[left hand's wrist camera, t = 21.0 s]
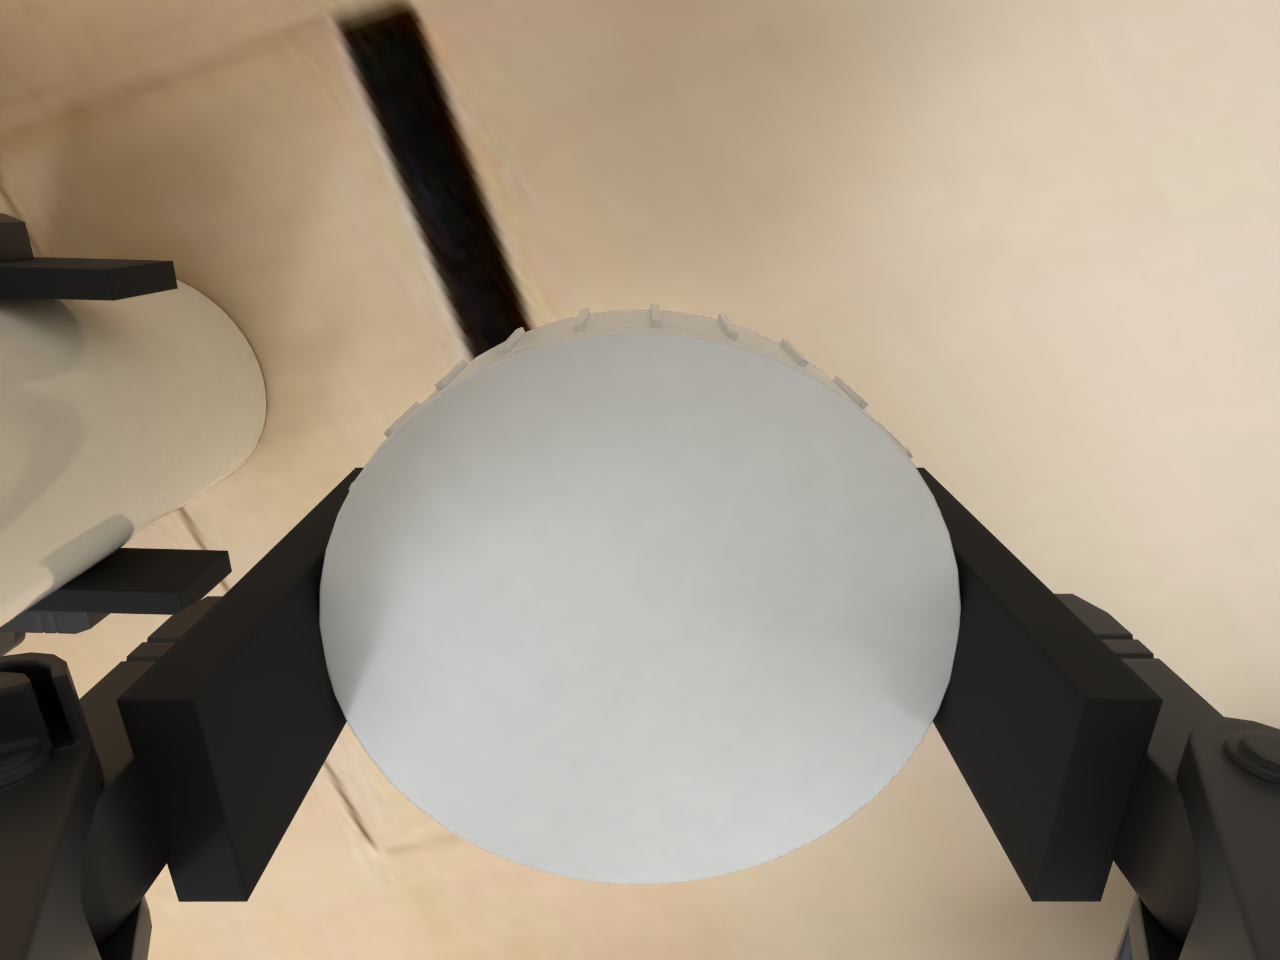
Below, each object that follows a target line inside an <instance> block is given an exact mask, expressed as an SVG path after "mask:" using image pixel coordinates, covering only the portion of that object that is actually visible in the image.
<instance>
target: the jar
mask: <svg viewBox="0 0 1280 960" xmlns="http://www.w3.org/2000/svg"><path fill="white" fill-rule="evenodd" d="M176 281H177V286H178V289H173V290H168V291H163V292H157V293H152V294H147V295H142V296H136V297H131V298H126V299H120V300H115V301H105V300H69V299H32V298H0V627H1V626H3V625H4V624H6V623H7V622H9V621H10V620H12V619H13V618H15V617H16V616H18V615H19V614H21V613H22V612H24V611H26V610H27V609H29V608H30V607H32V606H33V605H35V604H36V603H38V602H39V601H41V600H42V599H44V598H45V597H47V596H48V595H50V594H51V593H53V592H54V591H56V590H57V589H59V588H60V587H62V586H63V585H65V584H66V583H68V582H69V581H71V580H72V579H74V578H75V577H77V576H78V575H80V574H81V573H83V572H84V571H86V570H87V569H89V568H90V567H92V566H93V565H95V564H96V563H98V562H99V561H101V560H102V559H104V558H105V557H107V556H108V555H110V554H111V553H113V552H114V551H116V550H117V549H119V548H120V547H122V546H123V545H125V544H126V543H128V542H129V541H131V540H133V539H134V538H136V537H137V536H139V535H140V534H142V533H143V532H145V531H146V530H148V529H149V528H151V527H152V526H154V525H155V524H157V523H158V522H160V521H161V520H163V519H164V518H166V517H167V516H169V515H170V514H172V513H173V512H175V511H176V510H178V509H179V508H181V507H182V506H184V505H185V504H187V503H188V502H190V501H191V500H193V499H194V498H196V497H197V496H199V495H200V494H202V493H203V492H205V491H206V490H208V489H209V488H211V487H212V486H214V485H215V484H217V483H218V482H220V481H221V480H223V479H224V478H226V477H227V476H229V475H230V474H232V473H233V472H235V471H236V470H237V469H238V468H239V467H240V466H242V465H243V464H244V462H245V461H246V460H247V459H248V458H249V457H250V455H251V454H252V452H253V451H254V449H255V447H256V446H257V444H258V441H259V439H260V437H261V434H262V431H263V427H264V423H265V417H266V390H265V385H264V379H263V375H262V372H261V369H260V366H259V363H258V361H257V358H256V356H255V354H254V352H253V350H252V348H251V346H250V344H249V343H248V341H247V339H246V338H245V336H244V335H243V333H242V332H241V331H240V329H239V328H238V327H237V325H236V324H235V323H234V322H233V320H232V319H231V318H230V317H229V316H228V315H227V314H226V313H225V312H224V311H223V310H222V309H221V308H220V307H219V306H217V305H216V304H215V303H214V302H213V301H212V300H210V299H209V298H208V297H206V296H205V295H203V294H202V293H200V292H199V291H197V290H196V289H194V288H192V287H190V286H188V285H187V284H185V283H183V282H181V281H179V280H176Z"/></svg>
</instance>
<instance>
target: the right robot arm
mask: <svg viewBox="0 0 1280 960" xmlns="http://www.w3.org/2000/svg"><path fill="white" fill-rule="evenodd" d="M173 289H178V286H177V281H176V276H175V271H174V265H173V261H153V260H117V259H81V258H44V257H34V256H33V252H32V249H31V245H30V241H29V237H28V233H27V229H26V225H25V222H23V221H21V220H18V219H16V218H13V217H11V216H9V215H6V214H0V298H32V299H69V300H105V301H115V300H120V299H126V298H131V297H136V296H142V295H147V294H152V293H157V292H163V291H168V290H173ZM231 572H232V570H231V565H230V559H229V554H228V551H216V550H178V549H141V548H119V549H117V550H116V551H114V552H113V553H111V554H110V555H108V556H107V557H105V558H104V559H102V560H101V561H99V562H98V563H96V564H95V565H93V566H92V567H90V568H89V569H87V570H86V571H84V572H83V573H81V574H80V575H78V576H77V577H75V578H74V579H72V580H71V581H69V582H68V583H66V584H65V585H63V586H62V587H60V588H59V589H57V590H56V591H54V592H53V593H51V594H50V595H48V596H47V597H45V598H44V599H42V600H41V601H39V602H38V603H36V604H35V605H33V606H32V607H30V608H29V609H27V610H26V611H24V612H22V613H21V614H19V615H18V616H16V617H15V618H13V619H12V620H10V621H9V622H7V623H6V624H4V625H3V626H1V627H0V657H1V656H3V655H5V654H6V653H8V652H9V651H10V650H12V649H13V648H15V647H16V646H18V645H19V644H20V643H21V642H22V641H23V640H24V639H25V634H26V633H25V632H30V633H42V632H45V633H57V632H58V633H68V634H76V633H79V632H82V631H85V630H88V629H91V628H92V627H93V626H95V625H96V624H97V623H98V622H100V621H101V620H102V619H104V618H105V617H106V616H107V615H109V614H110V613H128V614H166V615H174V614H176V613H178V612H180V611H182V610H183V609H185V608H187V607H189V606H191V605H193V604H195V603H196V602H198V601H200V600H201V599H202V598H203V597H204V596H205V595H206V594H207V593H209V592H210V591H211V590H212V589H213V588H214V587H215V586H216V585H217V584H218V583H220V582H221V581H222V580H223V579H224V578H225V577H226V576H227V575H228V574H230V573H231Z"/></svg>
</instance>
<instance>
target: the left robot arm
mask: <svg viewBox="0 0 1280 960" xmlns="http://www.w3.org/2000/svg"><path fill="white" fill-rule="evenodd" d="M363 469H364V468H355V469H354V470H353V471H352V472H351V473H350V474H349V475H348V476H347V477H346V478H345V479H344V480H343V481H342V482H341V483H340V484H339V485H337V486H336V487H335V488H334V489H333V490H332V491H331V492H330V493H329V494H328V495H327V496H326V497H325V498H324V499H323V500H322V501H321V502H320V503H319V504H318V505H317V506H316V507H315V508H314V509H313V510H312V511H311V512H310V513H309V514H308V515H307V516H306V517H304V518H303V519H302V520H301V521H300V522H299V523H298V524H297V525H296V526H295V527H294V528H293V529H292V530H291V531H290V532H289V533H288V534H287V535H286V536H285V537H284V538H283V539H282V540H281V541H280V542H279V543H278V544H277V545H276V546H275V547H274V548H272V549H271V550H270V551H269V552H268V553H267V554H266V555H265V556H264V557H263V558H262V559H261V560H260V561H259V562H258V563H257V564H256V565H255V566H254V567H253V568H252V569H251V570H250V571H249V572H248V573H247V574H246V575H245V576H244V577H243V578H242V579H240V580H239V581H238V582H237V583H236V584H235V585H234V586H233V587H232V588H231V589H230V590H229V591H228V592H227V593H226V594H225V595H224V596H208V597H206V598H204V599H202V600H200V601H198V602H196V603H195V604H193V605H191V606H189V607H187V608H185V609H183V610H182V611H180V612H178V613H176V614H174V615H172V616H171V617H170V618H169V619H168V620H167V621H166V622H165V623H163V624H162V625H161V626H160V627H159V628H158V629H157V630H156V631H155V632H153V633H152V634H151V635H150V636H149V637H148V641H147V642H142V643H141V644H140V645H139V646H138V647H137V648H136V649H135V650H134V651H132V652H131V653H130V654H129V655H128V656H127V660H126V661H123V662H120V663H119V664H118V665H117V666H116V667H115V668H114V669H113V670H111V671H110V672H109V673H108V674H107V675H106V676H105V677H104V678H103V679H102V680H100V681H99V682H98V683H97V684H96V685H95V686H94V687H93V688H92V689H90V690H89V691H88V692H87V693H86V694H85V695H84V696H83V697H82V698H81V699H79V698H78V695H77V692H76V689H75V686H74V683H73V680H72V677H71V674H70V671H69V668H68V665H67V662H66V661H64V660H62V659H61V658H59V657H57V656H56V655H54V654H43V653H24V654H16V655H8V656H1V657H0V960H147V958H148V951H149V944H150V937H151V929H152V924H151V918H150V911H149V908H148V905H147V902H146V899H145V896H144V895H145V893H146V892H147V891H148V889H149V888H150V886H151V885H152V883H153V882H154V881H155V879H156V878H157V876H158V875H159V874H160V872H161V871H162V869H163V868H164V866H165V865H166V864H167V865H168V868H169V871H170V874H171V877H172V881H173V884H174V887H175V890H176V893H177V897H178V900H179V902H218V901H248V899H249V897H250V895H251V893H252V892H253V890H254V888H255V886H256V884H257V883H258V881H259V879H260V877H261V875H262V874H263V872H264V870H265V868H266V866H267V864H268V863H269V861H270V859H271V857H272V855H273V854H274V852H275V850H276V848H277V846H278V845H279V843H280V841H281V839H282V837H283V836H284V834H285V832H286V830H287V828H288V827H289V825H290V823H291V821H292V819H293V818H294V816H295V814H296V812H297V810H298V809H299V807H300V805H301V803H302V801H303V799H304V798H305V796H306V794H307V792H308V790H309V789H310V787H311V785H312V783H313V781H314V780H315V778H316V776H317V774H318V772H319V771H320V769H321V767H322V765H323V763H324V762H325V760H326V758H327V756H328V754H329V753H330V751H331V749H332V747H333V745H334V744H335V742H336V740H337V738H338V736H339V734H340V733H341V731H342V729H343V727H344V725H345V724H346V722H347V720H346V718H345V716H344V714H343V711H342V709H341V707H340V705H339V703H338V701H337V698H336V696H335V694H334V691H333V687H332V684H331V681H330V677H329V674H328V669H327V664H326V659H325V654H324V648H323V642H322V636H321V631H320V625H319V607H320V582H321V576H322V570H323V564H324V558H325V552H326V548H327V545H328V542H329V539H330V536H331V533H332V530H333V527H334V524H335V521H336V518H337V515H338V513H339V511H340V509H341V507H342V505H343V503H344V501H345V499H346V497H347V495H348V494H349V492H350V491H349V487H350V485H351V484H352V483H353V482H354V481H355V480H356V478H357V477H358V475H359V474H360V473H361V471H362V470H363ZM917 470H918V472H919V473H920V475H921V476H922V478H923V480H924V481H925V483H926V485H927V486H928V488H929V489H930V491H931V493H932V494H933V496H934V498H935V501H936V503H937V505H938V508H939V509H940V512H941V515H942V517H943V520H944V522H945V524H946V527H947V529H948V531H949V535H950V539H951V543H952V547H953V551H954V555H955V559H956V563H957V568H958V576H959V588H960V600H961V614H960V627H959V633H958V639H957V645H956V650H955V656H954V661H953V666H952V671H951V677H950V681H949V684H948V686H947V689H946V692H945V694H944V697H943V700H942V702H941V705H940V707H939V710H938V712H937V714H936V716H935V718H934V719H933V723H934V725H935V726H936V728H937V730H938V732H939V734H940V735H941V737H942V739H943V741H944V743H945V744H946V746H947V748H948V750H949V752H950V753H951V755H952V757H953V759H954V761H955V762H956V764H957V766H958V768H959V770H960V771H961V773H962V775H963V777H964V779H965V780H966V782H967V784H968V786H969V788H970V790H971V791H972V793H973V795H974V797H975V799H976V800H977V802H978V804H979V806H980V808H981V809H982V811H983V813H984V815H985V817H986V818H987V820H988V822H989V824H990V826H991V827H992V829H993V831H994V833H995V835H996V836H997V838H998V840H999V842H1000V844H1001V846H1002V847H1003V849H1004V851H1005V853H1006V855H1007V856H1008V858H1009V860H1010V862H1011V864H1012V865H1013V867H1014V869H1015V871H1016V873H1017V874H1018V876H1019V878H1020V880H1021V882H1022V883H1023V885H1024V887H1025V889H1026V891H1027V892H1028V894H1029V896H1030V898H1031V900H1032V901H1101V898H1102V895H1103V892H1104V888H1105V885H1106V882H1107V879H1108V875H1109V872H1110V869H1111V866H1112V863H1113V860H1114V862H1115V863H1116V865H1117V866H1118V867H1119V869H1120V870H1121V872H1122V873H1123V874H1124V876H1125V877H1126V879H1127V880H1128V881H1129V883H1130V884H1131V886H1132V887H1133V888H1134V890H1135V891H1136V896H1135V899H1134V902H1133V905H1132V908H1131V911H1130V914H1129V917H1128V920H1127V923H1126V926H1125V929H1124V932H1123V935H1122V938H1121V941H1120V944H1119V947H1118V950H1117V953H1116V956H1115V959H1114V960H1280V729H1276V728H1273V727H1270V726H1267V725H1264V724H1261V723H1258V722H1254V721H1248V720H1241V719H1234V718H1228V717H1223V716H1222V715H1221V714H1220V713H1219V712H1218V711H1217V710H1215V709H1214V708H1213V707H1212V706H1211V705H1210V704H1209V703H1208V702H1207V701H1205V700H1204V699H1203V698H1202V697H1201V696H1200V695H1199V694H1198V693H1197V692H1195V691H1194V690H1193V689H1192V688H1191V687H1190V686H1189V685H1188V684H1187V683H1185V682H1184V681H1183V680H1182V679H1181V678H1180V677H1179V676H1178V675H1177V674H1175V673H1174V672H1173V671H1172V670H1171V669H1170V668H1169V667H1168V666H1166V665H1165V664H1164V663H1163V662H1162V661H1161V660H1160V659H1154V657H1153V653H1152V652H1151V651H1150V650H1149V649H1148V648H1146V647H1145V646H1144V645H1143V644H1142V643H1141V642H1140V641H1139V640H1133V635H1132V634H1131V633H1130V632H1129V631H1127V630H1126V629H1125V628H1124V627H1123V626H1122V625H1121V624H1120V623H1119V622H1117V621H1116V620H1115V619H1114V618H1113V617H1112V616H1111V615H1110V614H1109V613H1107V612H1105V611H1103V610H1102V609H1100V608H1098V607H1096V606H1094V605H1092V604H1090V603H1089V602H1087V601H1085V600H1083V599H1081V598H1079V597H1077V596H1075V595H1074V594H1053V593H1052V592H1051V591H1050V590H1049V589H1048V588H1047V587H1046V586H1045V585H1044V584H1043V583H1042V582H1041V581H1040V580H1039V579H1038V578H1037V577H1036V576H1035V575H1034V574H1033V573H1032V572H1031V571H1030V570H1029V569H1028V568H1027V567H1026V566H1025V565H1024V564H1022V563H1021V562H1020V561H1019V560H1018V559H1017V558H1016V557H1015V556H1014V555H1013V554H1012V553H1011V552H1010V551H1009V550H1008V549H1007V548H1006V547H1005V546H1004V545H1003V544H1002V543H1001V542H1000V541H999V540H998V539H997V538H996V537H995V536H994V535H993V534H992V533H990V532H989V531H988V530H987V529H986V528H985V527H984V526H983V525H982V524H981V523H980V522H979V521H978V520H977V519H976V518H975V517H974V516H973V515H972V514H971V513H970V512H969V511H968V510H967V509H966V508H965V507H964V506H963V505H962V504H961V503H960V502H959V501H957V500H956V499H955V498H954V497H953V496H952V495H951V494H950V493H949V492H948V491H947V490H946V489H945V488H944V487H943V486H942V485H941V484H940V483H939V482H938V481H937V480H936V479H935V478H934V477H933V476H932V475H931V474H930V473H929V472H928V471H927V470H925V469H924V468H917Z"/></svg>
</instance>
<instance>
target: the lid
mask: <svg viewBox="0 0 1280 960" xmlns="http://www.w3.org/2000/svg"><path fill="white" fill-rule="evenodd" d="M435 386H436V387H437V390H436V391H435V392H434V393H433V394H432V395H430V396H429V397H428V398H427V399H426V400H425V401H424V402H423V403H422V404H421V405H420V404H419V403H418V402H416V403H415V404H414V405H413V406H412V407H410V408H409V409H408V410H407V411H406V412H405V413H404V414H403V415H402V416H401V417H400V418H399V419H398V420H397V421H396V422H394V423H393V424H392V425H391V426H390V427H389V428H388V429H387V430H386V432H385V433H384V434H385V435H386V436H387V437H388V438H387V439H386V440H385V441H384V442H383V443H382V444H381V445H380V447H379V448H378V449H377V451H376V452H375V454H374V455H373V456H372V458H371V459H370V460H369V462H368V463H367V464H366V466H365V467H364V469H363V470H362V471H361V473H360V474H359V475H358V477H357V478H356V480H355V481H354V482H353V483H352V484H351V485H350V487H349V491H350V492H349V494H348V495H347V497H346V499H345V501H344V503H343V505H342V507H341V509H340V511H339V513H338V515H337V518H336V521H335V524H334V527H333V530H332V533H331V536H330V539H329V542H328V545H327V548H326V552H325V558H324V564H323V570H322V576H321V582H320V607H319V625H320V631H321V636H322V642H323V648H324V654H325V659H326V664H327V669H328V674H329V677H330V681H331V684H332V687H333V691H334V694H335V696H336V698H337V701H338V703H339V705H340V707H341V709H342V711H343V714H344V716H345V718H346V720H347V722H348V724H349V727H350V728H351V730H352V731H353V733H354V734H355V736H356V738H357V739H358V741H359V742H360V744H361V745H362V747H363V748H364V750H365V752H366V753H367V755H368V756H369V757H370V759H371V760H372V761H373V762H374V763H375V765H376V766H377V767H378V768H379V769H380V771H381V772H382V773H383V774H384V775H385V777H386V778H387V779H388V780H389V781H390V783H391V784H393V785H394V786H395V787H396V788H397V789H398V790H399V791H400V792H401V793H402V794H403V795H404V796H405V797H406V798H407V799H409V800H410V801H411V802H412V803H413V804H414V805H415V806H416V807H417V808H419V809H420V810H421V811H423V812H424V813H425V814H427V815H428V816H429V817H431V818H432V819H434V820H435V821H436V822H438V823H439V824H440V825H442V826H443V827H444V828H446V829H448V830H449V831H451V832H453V833H455V834H456V835H458V836H460V837H461V838H463V839H465V840H467V841H468V842H470V843H472V844H473V845H475V846H477V847H480V848H482V849H484V850H486V851H489V852H491V853H493V854H495V855H497V856H500V857H502V858H504V859H506V860H509V861H512V862H515V863H518V864H521V865H524V866H527V867H530V868H533V869H536V870H539V871H542V872H547V873H551V874H556V875H560V876H565V877H569V878H574V879H580V880H588V881H596V882H604V883H613V884H661V883H675V882H686V881H692V880H698V879H704V878H710V877H716V876H721V875H725V874H728V873H732V872H736V871H739V870H743V869H747V868H750V867H754V866H757V865H759V864H762V863H764V862H767V861H770V860H772V859H775V858H777V857H780V856H783V855H785V854H788V853H790V852H792V851H794V850H796V849H798V848H800V847H801V846H803V845H805V844H807V843H809V842H811V841H813V840H815V839H817V838H819V837H821V836H822V835H824V834H825V833H827V832H828V831H830V830H831V829H833V828H834V827H836V826H838V825H839V824H841V823H842V822H844V821H845V820H847V819H848V818H850V817H851V816H852V815H853V814H854V813H856V812H857V811H858V810H859V809H860V808H862V807H863V806H864V805H865V804H867V803H868V802H869V801H870V800H871V799H873V798H874V797H875V796H876V795H877V794H878V793H879V792H880V791H881V790H882V789H883V788H884V787H885V786H886V785H887V784H888V783H889V781H890V780H891V779H892V778H893V777H894V776H895V775H896V774H897V773H898V772H899V771H900V770H901V768H902V767H903V766H904V764H905V763H906V762H907V760H908V759H909V758H910V756H911V755H912V754H913V752H914V751H915V749H916V748H917V747H918V745H919V744H920V743H921V741H922V739H923V738H924V736H925V734H926V732H927V730H928V728H929V727H930V725H931V723H932V721H933V719H934V718H935V716H936V714H937V712H938V710H939V707H940V705H941V702H942V700H943V697H944V694H945V692H946V689H947V686H948V684H949V681H950V677H951V671H952V666H953V661H954V656H955V650H956V645H957V639H958V633H959V627H960V614H961V600H960V588H959V576H958V568H957V563H956V559H955V555H954V551H953V547H952V543H951V539H950V535H949V531H948V529H947V527H946V524H945V522H944V520H943V517H942V515H941V512H940V509H939V508H938V505H937V503H936V501H935V498H934V496H933V494H932V493H931V491H930V489H929V488H928V486H927V485H926V483H925V481H924V480H923V478H922V476H921V475H920V473H919V472H918V470H917V468H916V467H915V465H914V463H913V462H912V461H911V459H910V458H911V457H913V456H912V454H911V453H910V451H909V450H908V449H907V448H906V447H905V446H904V445H903V444H901V443H900V442H899V441H898V440H897V439H896V438H895V437H894V436H893V435H892V434H891V433H890V432H889V431H888V430H887V429H886V428H885V427H884V426H883V425H882V424H881V423H880V422H877V421H876V420H875V419H874V418H873V417H872V416H871V415H870V414H868V413H867V412H866V411H865V410H864V408H865V407H866V406H867V405H868V403H866V402H865V401H864V400H863V399H862V398H861V397H860V396H859V395H858V394H857V393H856V392H855V391H853V390H852V389H851V388H850V387H849V386H848V385H847V384H846V383H845V382H844V381H843V380H842V379H840V378H839V377H838V376H836V377H835V378H834V379H833V380H832V379H831V378H830V377H828V376H827V375H826V374H825V373H824V372H823V371H822V370H820V369H819V368H818V367H816V366H815V365H813V364H812V363H810V362H809V361H807V360H806V359H805V358H804V357H803V356H802V355H801V354H800V353H799V352H798V351H797V350H796V349H795V348H794V347H793V346H792V345H791V344H790V343H789V342H788V341H786V340H784V339H783V340H782V341H781V343H780V344H779V343H777V342H775V341H773V340H770V339H768V338H766V337H764V336H762V335H760V334H758V333H756V332H753V331H751V330H749V329H745V328H742V327H739V326H736V325H733V324H732V323H731V322H730V321H729V319H728V318H727V316H724V315H719V318H718V320H716V319H713V318H709V317H703V316H697V315H691V314H685V313H679V312H673V311H659V306H658V305H654V304H651V307H650V310H622V311H612V312H602V313H592V314H590V312H589V309H582V310H581V312H580V314H579V316H578V317H573V318H569V319H565V320H561V321H556V322H552V323H548V324H546V325H543V326H541V327H538V328H535V329H533V330H530V331H528V332H525V331H524V329H523V327H521V328H519V329H516V330H515V331H514V332H513V334H512V335H511V336H510V337H509V338H508V339H507V340H506V341H505V342H503V343H501V344H499V345H498V346H496V347H494V348H492V349H490V350H488V351H487V352H485V353H483V354H481V355H479V356H478V357H476V358H475V359H474V360H472V361H471V362H470V363H467V362H466V361H465V359H463V360H462V361H460V362H459V363H458V364H457V365H456V366H455V367H454V368H453V369H451V370H450V371H449V372H448V373H447V374H446V375H445V376H444V377H443V378H442V379H441V380H440V381H439V382H438V383H437V384H436V385H435Z"/></svg>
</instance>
